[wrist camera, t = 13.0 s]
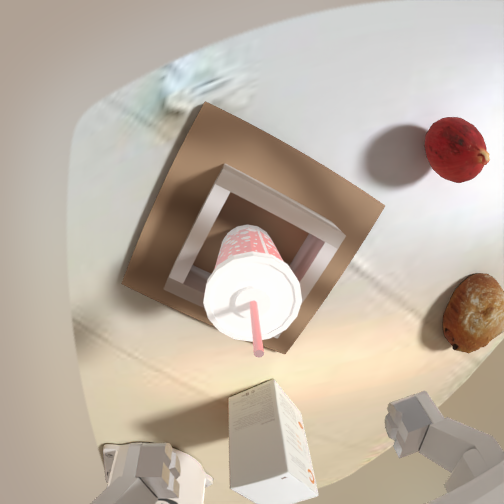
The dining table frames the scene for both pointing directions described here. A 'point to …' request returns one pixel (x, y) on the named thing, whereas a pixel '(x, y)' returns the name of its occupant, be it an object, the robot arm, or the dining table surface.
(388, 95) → the dining table surface
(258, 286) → the beverage cup
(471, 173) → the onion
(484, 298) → the bread roll
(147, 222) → the walnut board
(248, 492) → the small box
